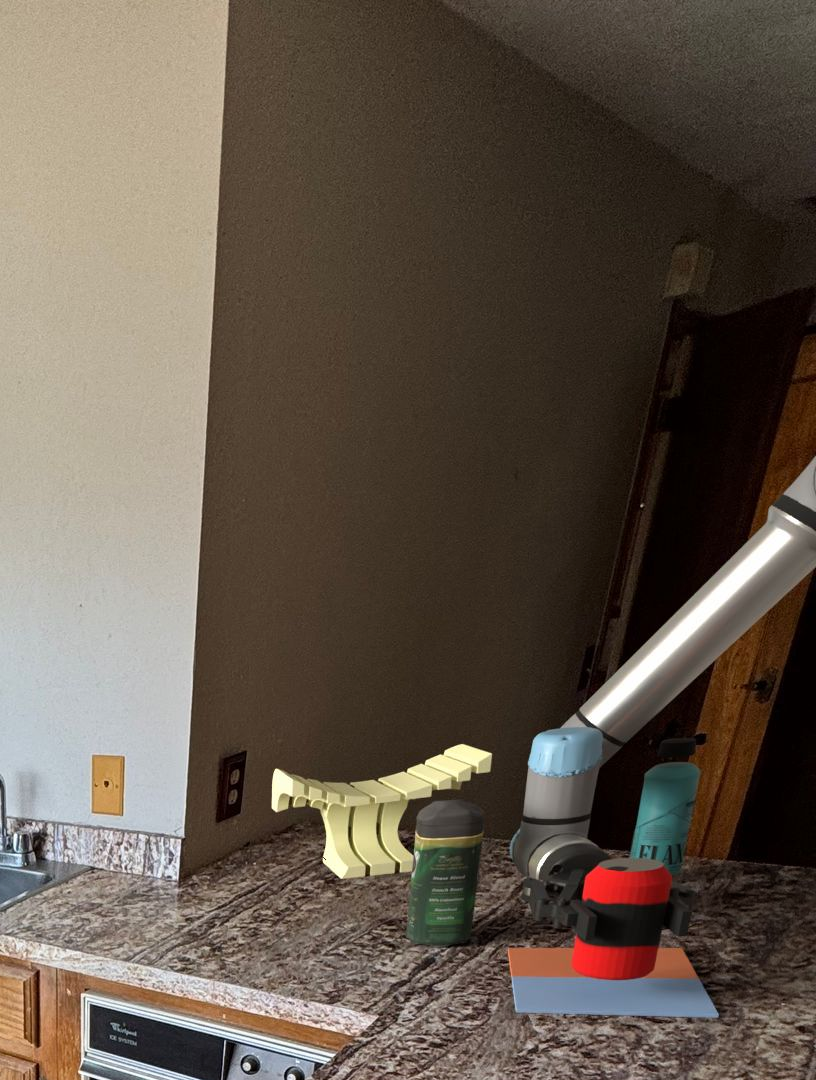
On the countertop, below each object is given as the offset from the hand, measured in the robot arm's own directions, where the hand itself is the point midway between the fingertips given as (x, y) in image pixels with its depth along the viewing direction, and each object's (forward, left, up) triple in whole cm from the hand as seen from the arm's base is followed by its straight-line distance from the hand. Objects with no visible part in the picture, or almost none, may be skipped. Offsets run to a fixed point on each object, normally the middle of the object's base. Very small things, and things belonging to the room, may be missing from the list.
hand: (637, 926), depth 105 cm
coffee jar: (+18, -27, -10) cm, 34 cm away
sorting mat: (+1, -10, -10) cm, 14 cm away
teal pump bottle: (-9, -53, -10) cm, 55 cm away
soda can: (+1, -5, -7) cm, 8 cm away
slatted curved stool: (+29, -69, -10) cm, 75 cm away
